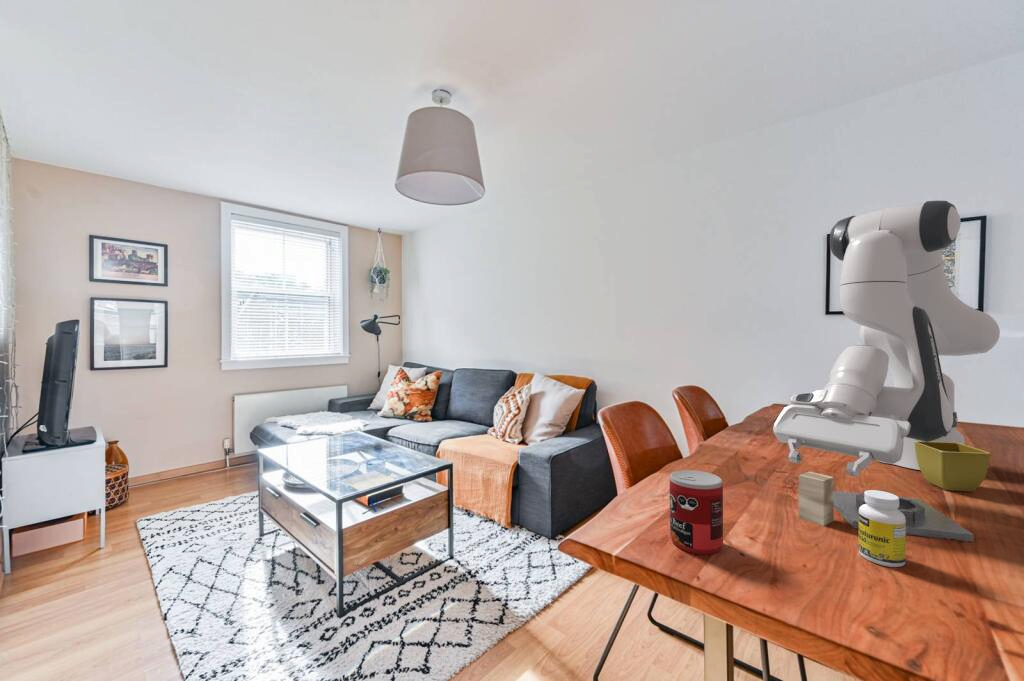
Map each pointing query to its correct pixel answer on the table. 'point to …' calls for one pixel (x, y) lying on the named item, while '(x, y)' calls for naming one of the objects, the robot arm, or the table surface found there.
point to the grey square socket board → (906, 517)
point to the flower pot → (952, 464)
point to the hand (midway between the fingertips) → (820, 467)
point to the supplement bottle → (882, 529)
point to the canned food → (696, 511)
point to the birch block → (816, 498)
